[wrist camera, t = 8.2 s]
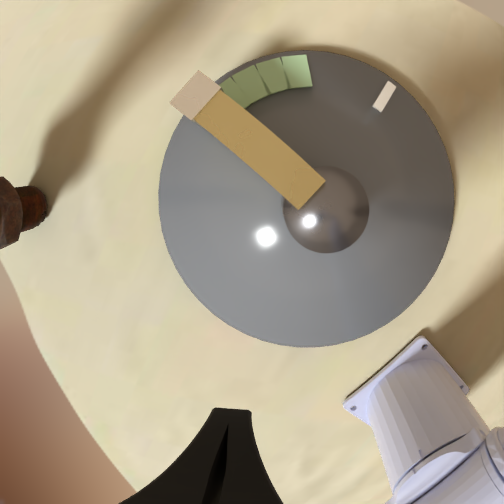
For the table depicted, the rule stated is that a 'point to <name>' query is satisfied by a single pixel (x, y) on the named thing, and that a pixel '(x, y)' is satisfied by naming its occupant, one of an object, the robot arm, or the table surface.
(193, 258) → the dial plate
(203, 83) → the peg lever
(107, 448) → the table surface
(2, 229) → the bolt
